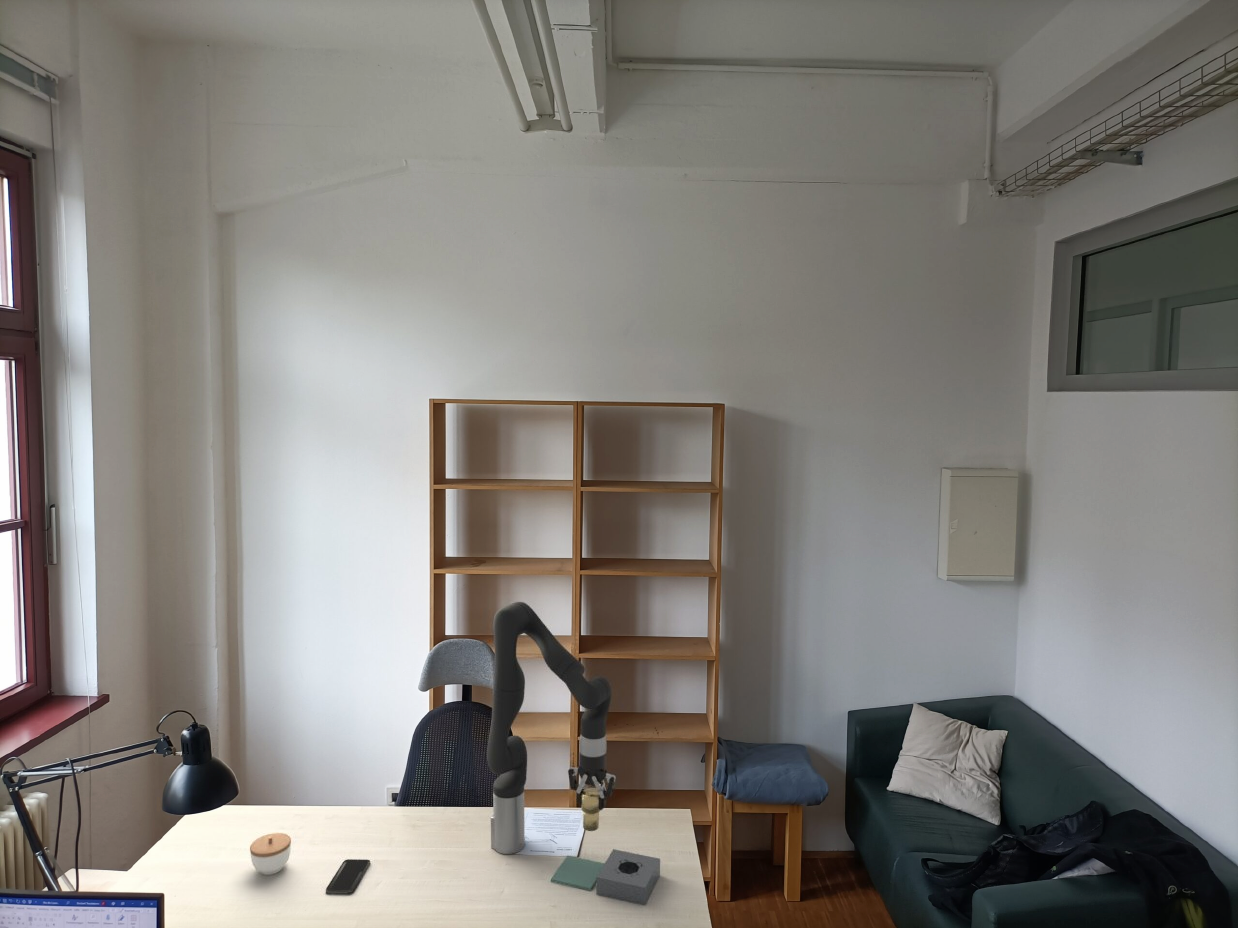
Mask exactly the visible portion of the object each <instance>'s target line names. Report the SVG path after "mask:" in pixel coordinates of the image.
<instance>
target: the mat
mask: <svg viewBox="0 0 1238 928" xmlns="http://www.w3.org/2000/svg"><path fill="white" fill-rule="evenodd" d="M604 864H605V862H600V861H595V860H589V859H585V858H580V857H576V856H572V855H567V856H566V857H565V858H564V860H563V861H562V863H560V865H559V867H558V868H557V870H556V871H555V872H554V873H553V875H552V877H551V878H550V882H551V883H555V884H559V885H562V886H567V887H572V888H577V889H581V890H585V891H588V892H589V891H590V892H591V891H592V889H593V887H594V886H596V877H597V875H598V873H599V872H600V870H601V869H602V867H603V865H604Z"/></svg>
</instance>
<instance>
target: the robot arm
mask: <svg viewBox="0 0 1238 928" xmlns="http://www.w3.org/2000/svg"><path fill="white" fill-rule="evenodd" d="M523 634H524V635H527V636H528V637H529V638H530V639H531V640H532V641H533V642H534V643H535V644H536V645H537V646H538V648H539V650H540V653H541V655H542V657H543V660H544V662H545V664H546V666H547V667H548V668H549V670H551V672H552V673H554V675H556V676H557V677H558V678H559V679H560V680H561V681H562V682H563V683H564V684H565V685H566V687H567V689H568V690H569V692H570V693H571V695H572V697H573V698H574V700H575V701H576V702H577V704H579V706H581V707H582V708H584V709H586V710H585V711H584V712H583V713H582V716H581V718H580V735H579V736H580V737H579V742H578V743H579V750H578V751H579V752H578V767H576V766H575V765H571V766H570V767H569V769H568V770H567V774H568V779H569V781H568V782H569V786H570V790H571V791H575V792H576V803H577V804H578V806H580V807H581V802H582V791H583V790H584V787H585V785H587V786H593V787H595V788H596V789H597V791H598V792H599V795H600V798H599V810H600V811H603V809H604V808H605V807H606V805H607V798H608V799H609V798H611V795H612V794H613V793H614V789H615V785H616V781H617V774H616V773H612V774H611V773H608V772H607V771H608V770H607V767H606V766H607V748H608V745H607V734H606V732H607V717H608V713H609V709H610V705H611V701H612V700H611V699H612V688H611V684H610V682H609V680H608V679H607V678H605V677H603V676H598V675H597V676H594V677H592V678H591V679H590V680H587V679H586V678H585V677H584V674H585V666H584V665H583V663H582V662H580V661H579V660H578V658H576V657H575V656H574V655H573V654H572V653H571V652H570V651H568V650H567V648H565V647H564V646H563V645H562V644H561V642H559V641H558V639H557V638H556V637H555V635H554V634H553V633H552V632H551V631H550V629H549V628H548V627H547V625H545V623H544V622H543V621H542V620H541V617H539V616H538V614H537V613H536V612H535V610H534V609H533V608H532V607H531V606H530V605H529V604H527V603H526V602H523V601H515V602H513V603H511V604H508V605H506V606H504V607H501V608H499V610H497V611H496V612H495V614H494V617H493V643H494V644H493V647H494V663H493V666H494V667H493V682H492V704H491V705H492V706H491V707H492V709H491V721H490V727H489V728H490V729H489V735H488V742H487V748H486V749H487V750H486V760H487V761H486V762H487V766H488V768H489V770H490V771H491V773H492V774H494V775H495V776H496V775H498V777H497V778H496V779H495V780H494V782H493V784H492V785H493V786H492V793H493V794H492V795H493V796H492V799H493V800H492V801H493V804H492V805H493V811H492V812H493V813H492V816H491V817H490V848H491V849H494V851H496V852H497V853H499V854H503V855H504V854H505V855H510V854H511V855H512V854H516V853H518V852H521V851H522V850H523V849H524V848H525V845H526V844H525V842H526V841H525V840H526V837H525V827H526V826H525V785H526V782H527V775H528V774H527V771H528V750H527V746H526V743H525V742H524V740H523V738H522V737H520V736H519V735H511V736H509V733H510V730H511V727H512V726H513V724H514V722H515V720H516V718H517V716H518V714H519V712H520V710H521V708H522V706H523V703H524V700H525V689H526V687H525V686H526V679H525V674H524V671H523V669H522V667H521V665H520V663H519V661H518V658H517V643H518V638H519V636H521V635H523ZM577 775H579V777H580V779H581V780H580V782H579V784H578V779H577ZM605 779H606V782H607V783H608V784H607V789H606V783H605Z"/></svg>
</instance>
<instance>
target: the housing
mask: <svg viewBox="0 0 1238 928" xmlns="http://www.w3.org/2000/svg"><path fill="white" fill-rule="evenodd" d="M604 863H605V864H604V865H603V867H602V869H601V870H600V872H599V873H598V875H597V877H596V883H595V890H596V891H595V895H596V896H602V897H606V898H610V899H615V900H620V901H624V902H628V903H632V904H637V905H642V906H646V905H647V903H648V901H649V899H650V897H651V894H652V892H653V891H654V888H655V887H656V885H657V883H658V880H659V878H660V876H661V858H658V857H655V856H654V857H653V856H648V855H644V854H639V853H635V852H634V853H633V852H628V851H624V850H619V849H612V850H611V853H610V854H609V856H608V857H607V859H606V860H605V862H604Z"/></svg>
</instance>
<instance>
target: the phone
mask: <svg viewBox="0 0 1238 928" xmlns="http://www.w3.org/2000/svg"><path fill="white" fill-rule="evenodd" d="M370 865H371V860H370V859H362V858H361V859H360V858H359V859H356V858H355V859H353V858H350V859H349V858H348V859H344V860H343V862H342V863H341V864H340V866H339V868H338V869H337V871H336V872H335V875H334V876H333V877H332V879H331V881H330V882H329V884H328V885H327V886H326V889H325V894H326V895H341V896H342V895H353V894H354V893H355V891H356V889H357V888H358V886H359V884H360V882H361V881H362V879H363V877H364V875H365V874H366V872H367V870H368V869H369V867H370Z"/></svg>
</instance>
